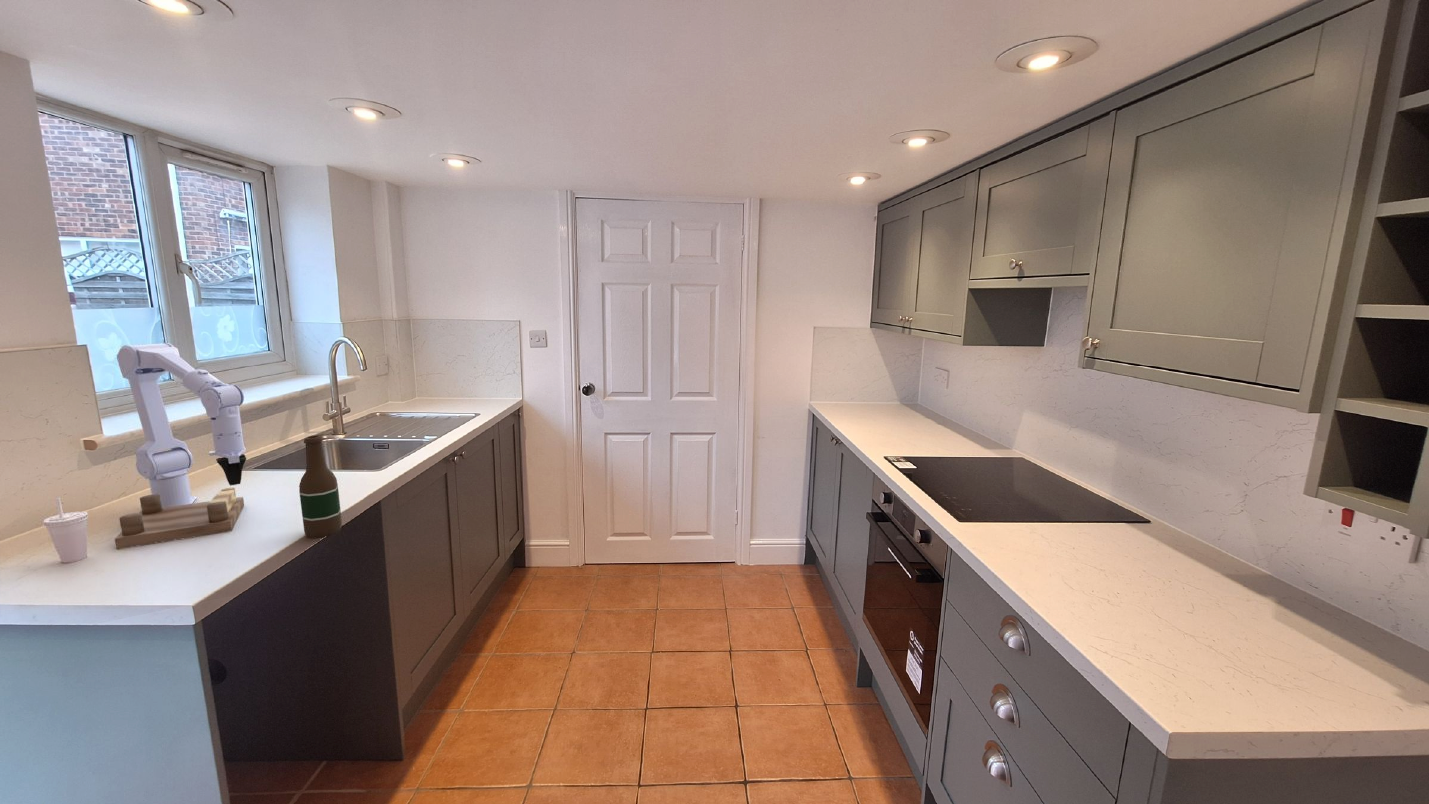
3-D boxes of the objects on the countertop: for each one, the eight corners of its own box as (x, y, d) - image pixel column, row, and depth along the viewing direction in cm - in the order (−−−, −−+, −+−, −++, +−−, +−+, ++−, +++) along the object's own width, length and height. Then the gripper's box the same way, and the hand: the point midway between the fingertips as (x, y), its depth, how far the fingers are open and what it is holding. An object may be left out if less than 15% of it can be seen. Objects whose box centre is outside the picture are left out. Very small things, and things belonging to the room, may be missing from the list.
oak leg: (223, 500, 150) (221, 488, 149) (238, 498, 152) (236, 486, 151) (210, 515, 139) (208, 503, 139) (227, 513, 141) (225, 501, 140)
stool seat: (143, 519, 143) (139, 495, 142) (244, 505, 154) (241, 482, 152) (116, 549, 126) (111, 522, 125) (231, 530, 137) (228, 505, 136)
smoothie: (47, 561, 120) (33, 499, 118) (90, 550, 126) (78, 490, 123) (57, 568, 117) (44, 504, 115) (101, 556, 123) (89, 495, 120)
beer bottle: (301, 531, 137) (289, 436, 133) (338, 523, 143) (327, 431, 138) (308, 541, 132) (296, 442, 128) (347, 531, 137) (336, 436, 133)
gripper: (203, 430, 144) (211, 480, 146) (209, 440, 134) (217, 494, 136) (239, 426, 149) (246, 475, 151) (247, 436, 139) (254, 488, 141)
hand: (234, 484), depth 144 cm, fingers closed
